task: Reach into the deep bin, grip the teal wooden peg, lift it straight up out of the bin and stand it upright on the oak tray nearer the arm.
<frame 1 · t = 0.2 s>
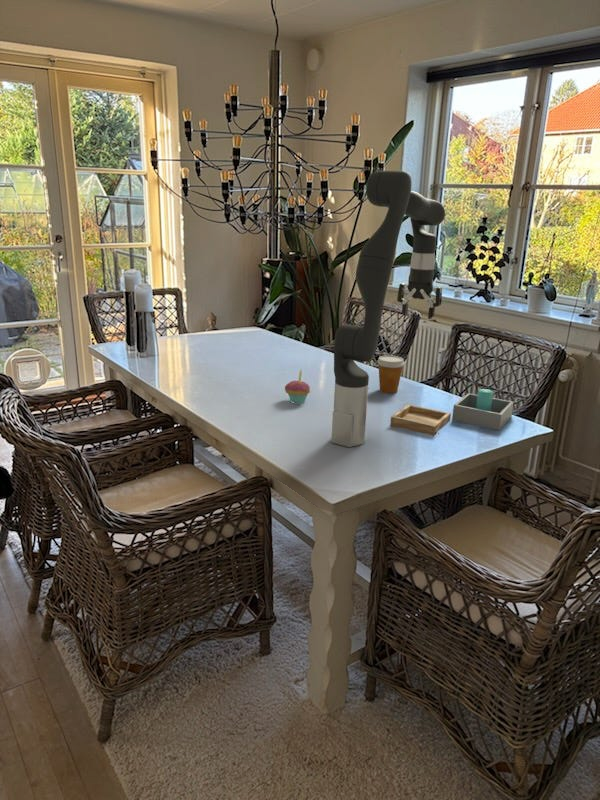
hand: (417, 317, 201), 29 cm above the table, tool pointing down, fingers open, 8 cm apart
disposable coffee cup: (388, 391, 220), on the table
deep bin: (481, 421, 192), on the table
peg: (482, 418, 192), point 1 cm above the table, touching deep bin
tray: (420, 424, 188), on the table
cupcake: (297, 402, 205), on the table
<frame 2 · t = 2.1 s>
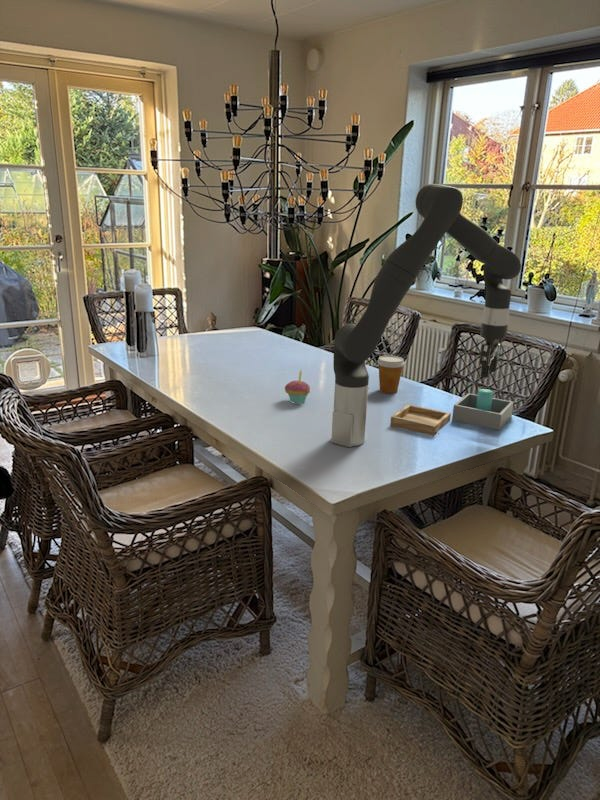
hand: (488, 374, 187), 16 cm above the table, tool pointing down, fingers open, 8 cm apart
nothing on the table moved.
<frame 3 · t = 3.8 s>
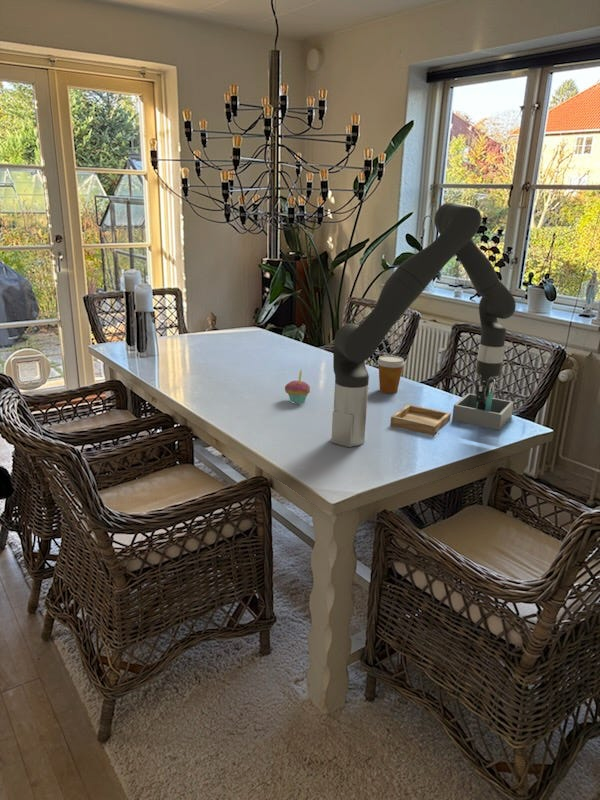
hand: (483, 411, 191), 3 cm above the table, tool pointing down, fingers closed on peg, 4 cm apart
peg: (482, 418, 192), point 1 cm above the table, touching deep bin, gripper
everything else where it was.
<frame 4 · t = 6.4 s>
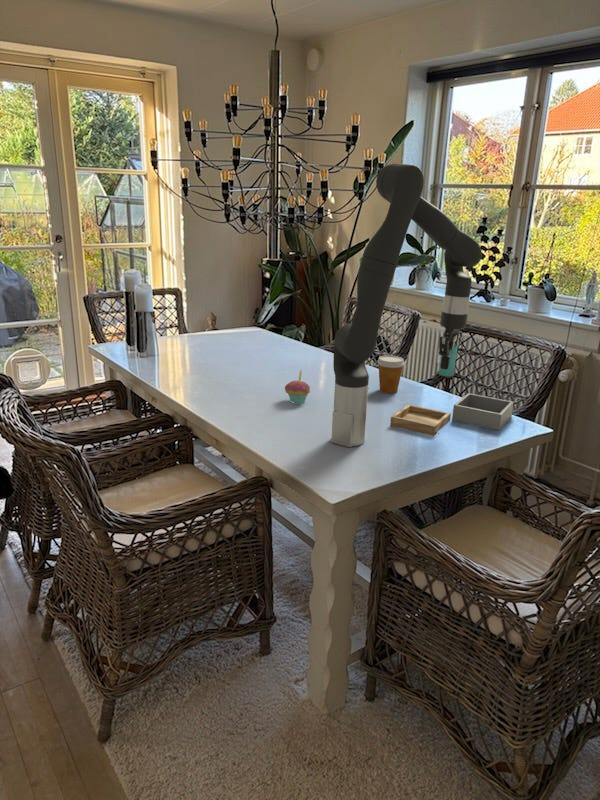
hand: (446, 367, 184), 18 cm above the table, tool pointing down, fingers closed on peg, 4 cm apart
peg: (445, 374, 184), point 16 cm above the table, touching gripper
everything else where it was.
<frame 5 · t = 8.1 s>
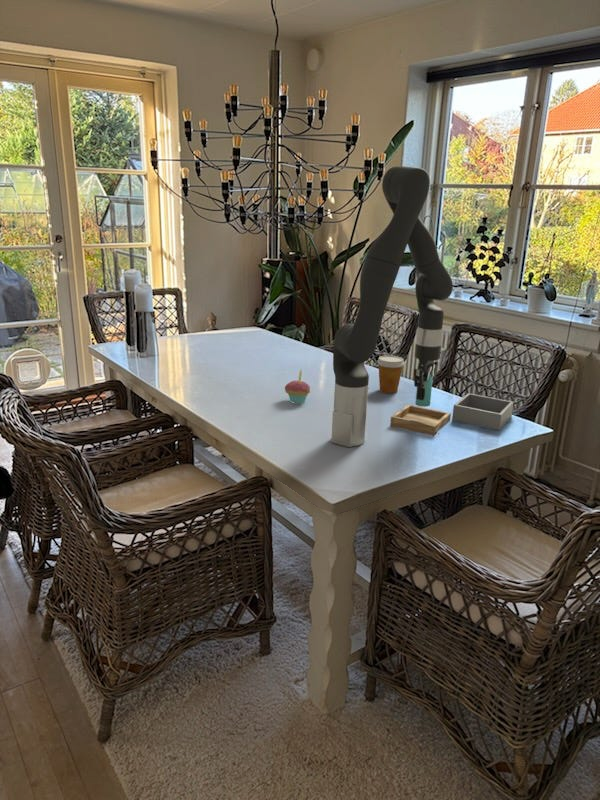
hand: (423, 397, 186), 9 cm above the table, tool pointing down, fingers closed on peg, 4 cm apart
peg: (422, 404, 186), point 7 cm above the table, touching gripper
everything else where it was.
when the fingers open (5 cm above the table, at t = 9.3 s): peg drops 1 cm, resting on tray.
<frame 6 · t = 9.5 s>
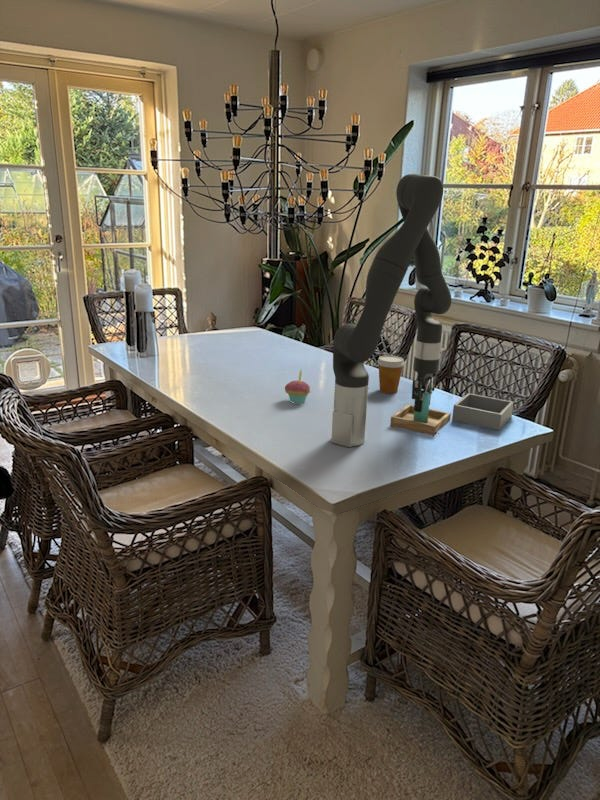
hand: (421, 408, 187), 5 cm above the table, tool pointing down, fingers open, 6 cm apart
peg: (420, 421, 188), point 1 cm above the table, touching tray
everything else where it was.
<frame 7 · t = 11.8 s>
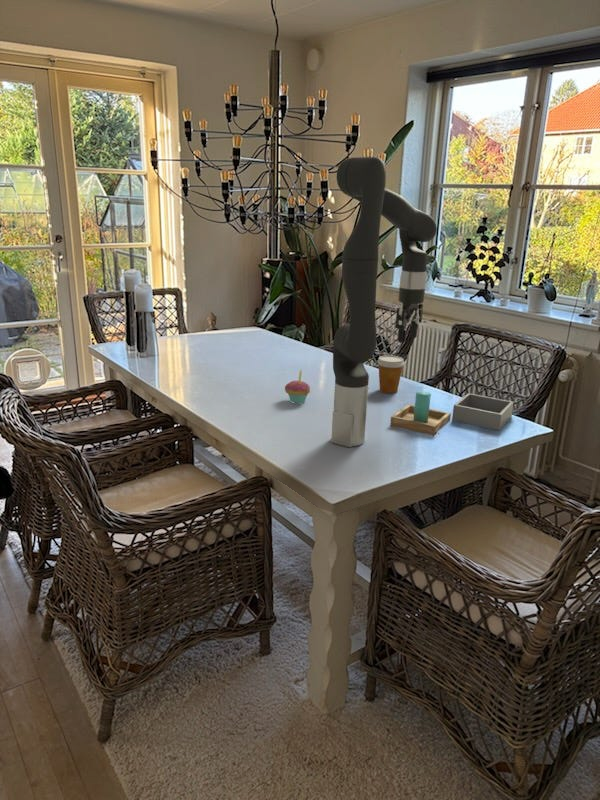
hand: (407, 339, 186), 25 cm above the table, tool pointing down, fingers open, 8 cm apart
nothing on the table moved.
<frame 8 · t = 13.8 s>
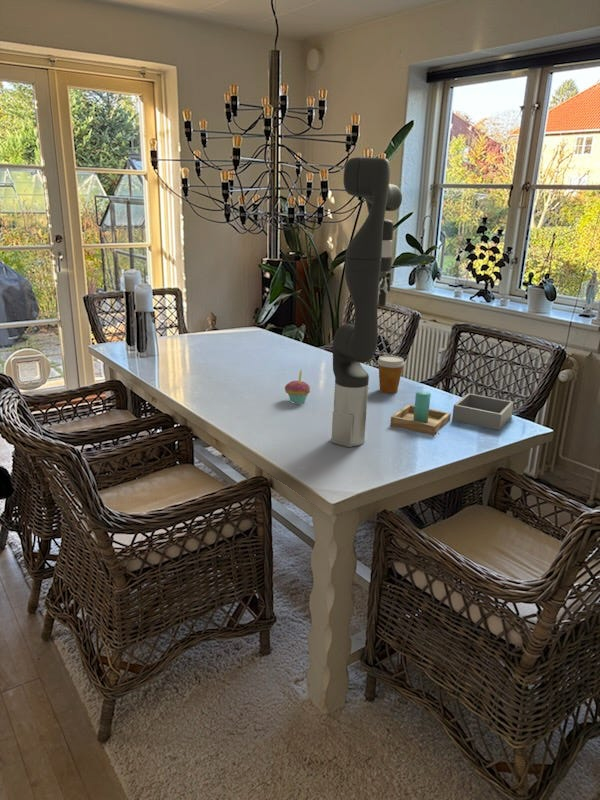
hand: (376, 307, 192), 33 cm above the table, tool pointing down, fingers open, 8 cm apart
nothing on the table moved.
at the end: peg inside the target area on the tray (0.1 cm from its centre), point 1.0 cm above the tray's base; peg tilted 1°; the gripper is holding nothing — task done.
